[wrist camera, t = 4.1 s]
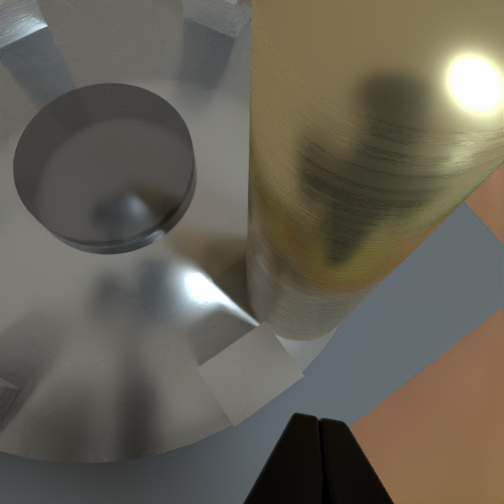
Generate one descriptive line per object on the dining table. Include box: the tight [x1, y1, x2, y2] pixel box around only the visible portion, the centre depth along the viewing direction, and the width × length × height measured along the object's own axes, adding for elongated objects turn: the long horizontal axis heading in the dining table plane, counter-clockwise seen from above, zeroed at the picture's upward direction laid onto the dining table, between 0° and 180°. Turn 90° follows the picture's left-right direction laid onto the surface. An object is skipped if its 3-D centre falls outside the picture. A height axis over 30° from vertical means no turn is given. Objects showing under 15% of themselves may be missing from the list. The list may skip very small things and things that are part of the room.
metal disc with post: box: [0, 0, 504, 463], centre depth 11 cm, size 16×16×12 cm
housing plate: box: [0, 202, 504, 504], centre depth 18 cm, size 20×20×2 cm
